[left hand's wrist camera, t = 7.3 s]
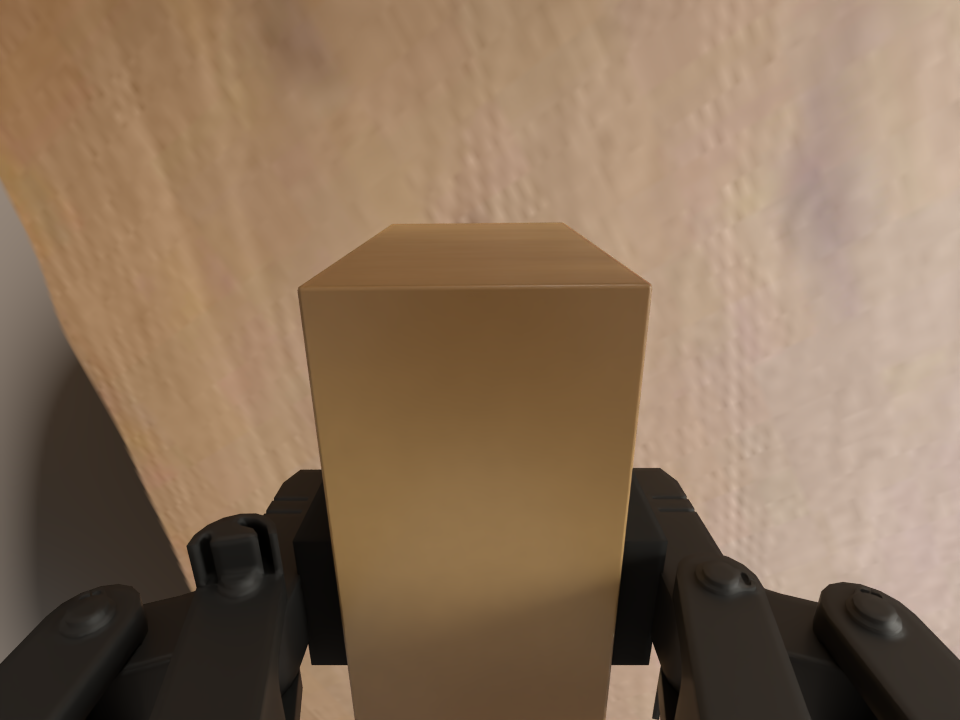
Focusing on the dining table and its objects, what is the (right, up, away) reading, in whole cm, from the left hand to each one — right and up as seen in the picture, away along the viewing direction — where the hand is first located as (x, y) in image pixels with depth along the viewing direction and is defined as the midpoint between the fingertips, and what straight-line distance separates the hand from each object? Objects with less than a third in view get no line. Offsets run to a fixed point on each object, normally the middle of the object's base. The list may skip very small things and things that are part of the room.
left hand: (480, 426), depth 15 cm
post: (0, -20, +8) cm, 21 cm away
